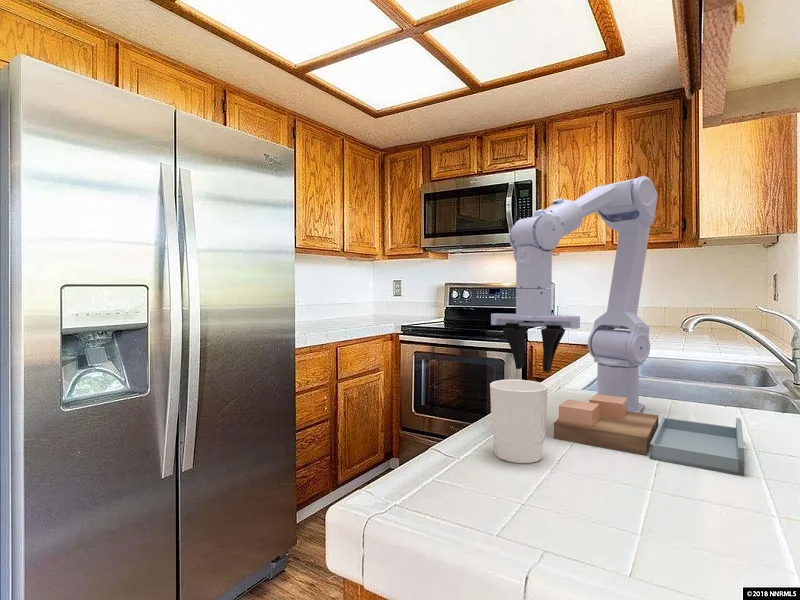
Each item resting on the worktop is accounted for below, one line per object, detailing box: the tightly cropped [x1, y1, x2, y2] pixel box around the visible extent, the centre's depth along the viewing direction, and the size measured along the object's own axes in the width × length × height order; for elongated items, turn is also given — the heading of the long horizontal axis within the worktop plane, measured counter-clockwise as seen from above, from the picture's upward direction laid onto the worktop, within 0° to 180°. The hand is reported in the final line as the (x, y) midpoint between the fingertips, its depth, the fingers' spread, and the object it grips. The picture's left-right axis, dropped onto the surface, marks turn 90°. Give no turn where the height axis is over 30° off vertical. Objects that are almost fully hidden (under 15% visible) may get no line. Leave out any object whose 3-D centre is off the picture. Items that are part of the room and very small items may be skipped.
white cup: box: [489, 379, 549, 464], centre depth 66 cm, size 8×8×10 cm
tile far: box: [589, 393, 628, 419], centre depth 78 cm, size 5×5×2 cm
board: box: [553, 411, 659, 456], centre depth 75 cm, size 14×13×2 cm
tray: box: [649, 417, 745, 477], centre depth 68 cm, size 16×10×4 cm, turn 145°
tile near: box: [558, 399, 600, 427], centre depth 74 cm, size 5×5×2 cm
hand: (533, 369), depth 78 cm, fingers open, 4 cm apart
